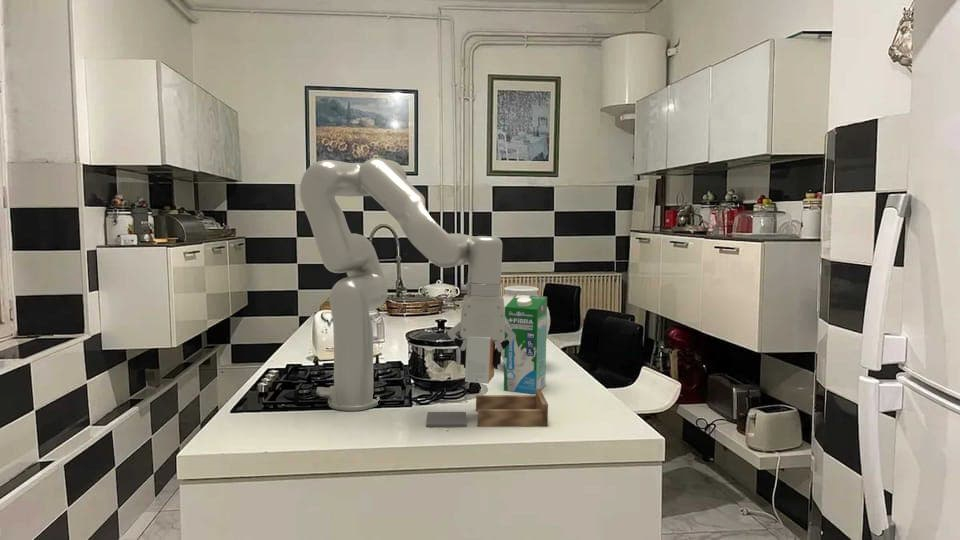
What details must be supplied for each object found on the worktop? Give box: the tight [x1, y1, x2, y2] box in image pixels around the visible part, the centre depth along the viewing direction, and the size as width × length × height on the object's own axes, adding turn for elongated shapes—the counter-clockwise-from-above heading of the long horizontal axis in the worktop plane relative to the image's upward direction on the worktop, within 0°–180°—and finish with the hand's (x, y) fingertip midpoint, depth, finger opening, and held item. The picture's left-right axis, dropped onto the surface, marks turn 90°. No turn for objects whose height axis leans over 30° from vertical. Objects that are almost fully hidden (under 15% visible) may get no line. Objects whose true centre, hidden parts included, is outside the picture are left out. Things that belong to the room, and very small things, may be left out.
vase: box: [500, 285, 551, 361], centre depth 196 cm, size 18×18×25 cm
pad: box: [425, 411, 468, 428], centre depth 147 cm, size 9×9×1 cm
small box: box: [464, 337, 496, 385], centre depth 149 cm, size 8×6×10 cm
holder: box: [475, 389, 549, 427], centre depth 150 cm, size 16×12×5 cm
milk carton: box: [503, 295, 548, 395], centre depth 174 cm, size 9×9×25 cm
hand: (480, 366), depth 149 cm, fingers closed on small box, 6 cm apart
